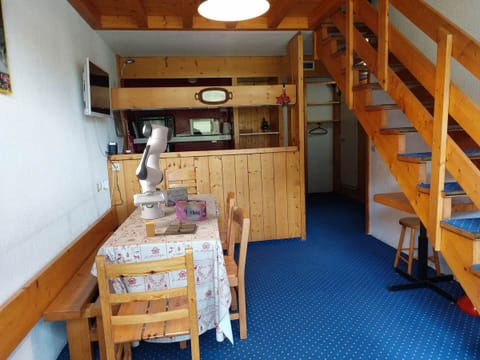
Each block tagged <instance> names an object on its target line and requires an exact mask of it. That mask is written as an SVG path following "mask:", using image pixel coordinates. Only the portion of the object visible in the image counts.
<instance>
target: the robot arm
mask: <svg viewBox="0 0 480 360" xmlns="http://www.w3.org/2000/svg"><path fill="white" fill-rule="evenodd" d="M142 134H143V136H144V137H146V138H148V140H147V143H146V145H145V146H146V147H145V148H144V150H143V153H142V155H141V158H140V161H139V164H138V166H137V168H136V172H135V176H136V178H137V179H138V181H139V183H140V186H141V190H142V192H140V193H138V192H136V193H135V194H133V196H132V197H133V204H134V207H140V208H141V215H140V216H139V217H140V219H143V220H153V219H159V218H163V217H165V216H166V214H165V213H166V212H165V211H164V210H163V209H162V204H163V205H165V196H164V191H163V189H162V188H161V187H157V186H158V185H160V184H161V183H163V182H164V181H163V180H164V172H163V171H162V170H161V168H160V156H161V154H163V153H165V151H166V150H167V144H168V142H170V141H172V139H173V137H174V130H173V129H172V128H170V127H167V126H164V125H161V124H154V123H150V122H149V123H148V122H147V123H145V124H144V126H143V128H142Z"/></svg>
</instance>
